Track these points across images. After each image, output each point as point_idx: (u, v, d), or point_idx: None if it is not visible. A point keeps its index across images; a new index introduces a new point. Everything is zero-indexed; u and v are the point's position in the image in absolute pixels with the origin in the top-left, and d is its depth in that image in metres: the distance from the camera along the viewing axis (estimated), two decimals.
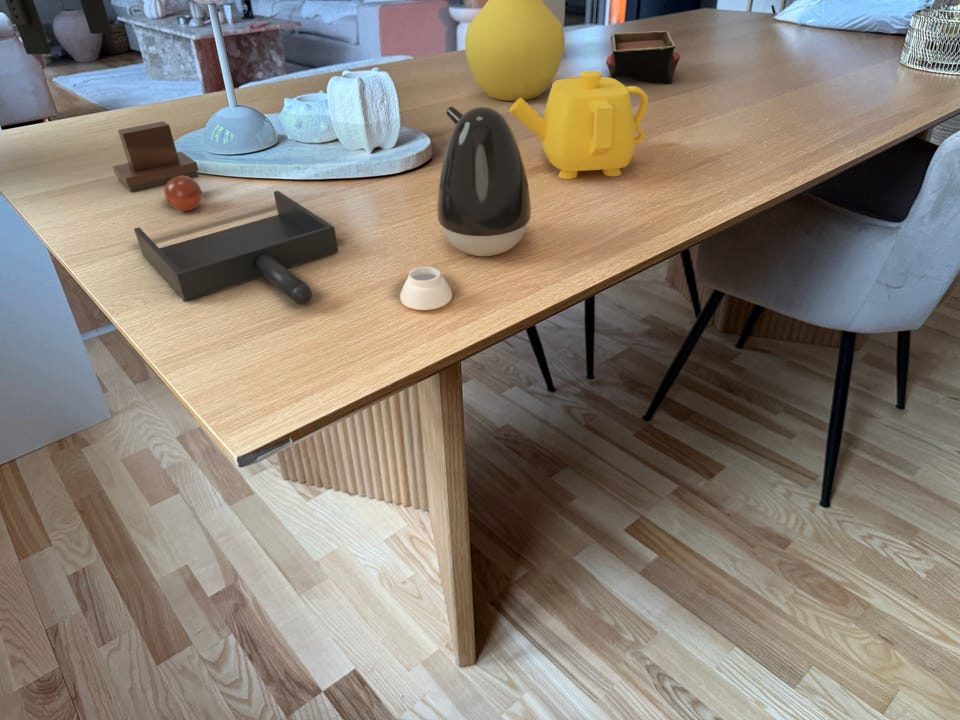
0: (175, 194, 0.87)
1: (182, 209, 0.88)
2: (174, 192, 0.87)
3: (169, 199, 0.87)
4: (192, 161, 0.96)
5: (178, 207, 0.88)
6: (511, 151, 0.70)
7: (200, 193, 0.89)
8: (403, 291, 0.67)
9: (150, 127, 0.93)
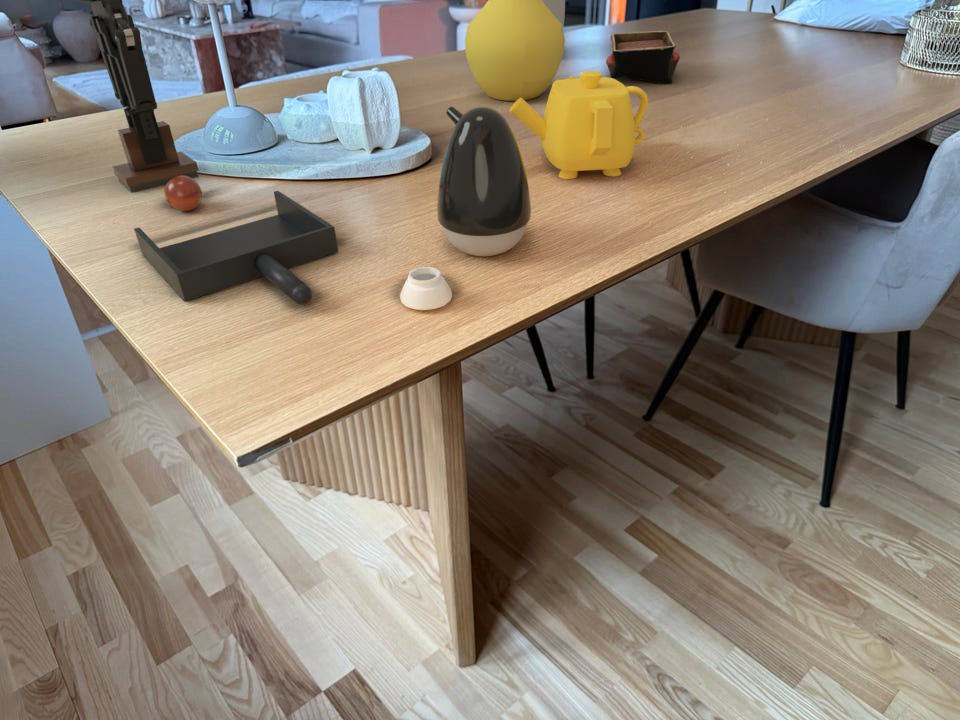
0: (175, 194, 0.87)
1: (182, 209, 0.88)
2: (174, 192, 0.87)
3: (169, 199, 0.87)
4: (192, 161, 0.96)
5: (178, 207, 0.88)
6: (511, 151, 0.70)
7: (200, 193, 0.89)
8: (403, 291, 0.67)
9: None
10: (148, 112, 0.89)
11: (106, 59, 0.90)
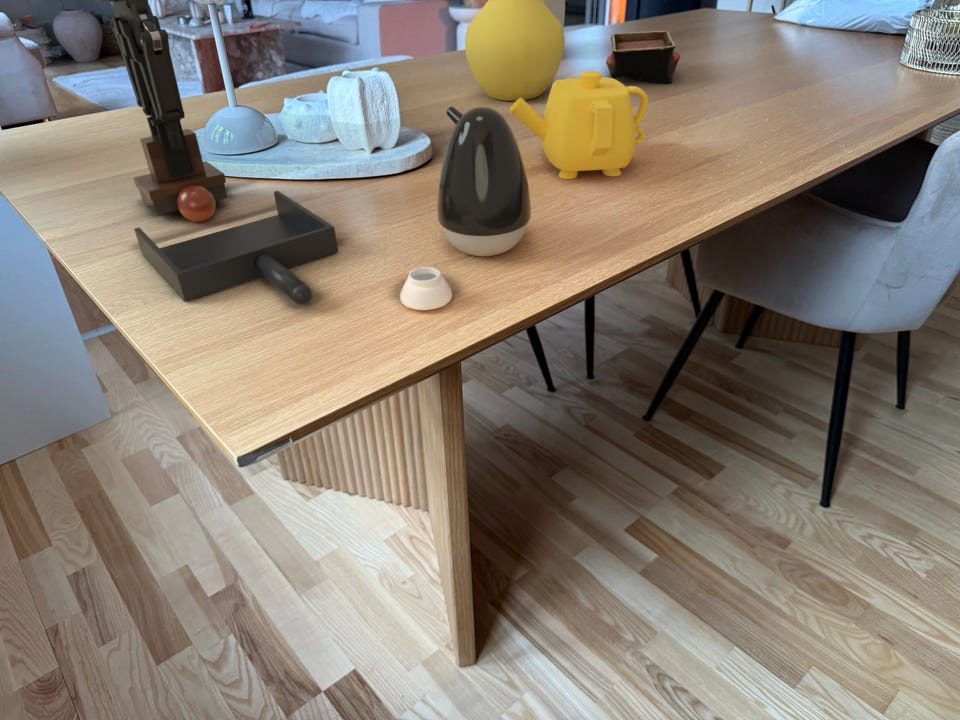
0: (188, 208, 0.84)
1: (194, 221, 0.86)
2: (188, 205, 0.84)
3: (182, 210, 0.85)
4: (219, 172, 0.89)
5: (191, 219, 0.85)
6: (511, 151, 0.70)
7: (214, 206, 0.86)
8: (403, 291, 0.67)
9: None
10: (174, 121, 0.82)
11: (128, 64, 0.83)
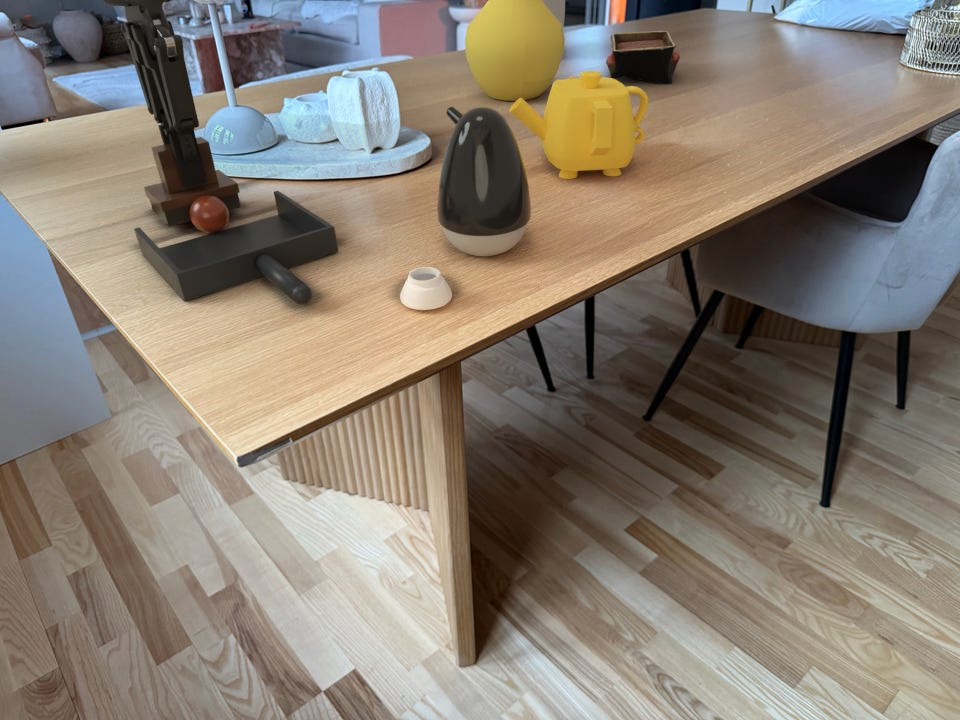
0: (202, 219, 0.81)
1: (207, 232, 0.83)
2: (201, 216, 0.81)
3: (195, 222, 0.82)
4: (233, 182, 0.86)
5: (203, 230, 0.82)
6: (511, 151, 0.70)
7: (228, 216, 0.83)
8: (403, 291, 0.67)
9: None
10: (188, 130, 0.79)
11: (139, 70, 0.80)
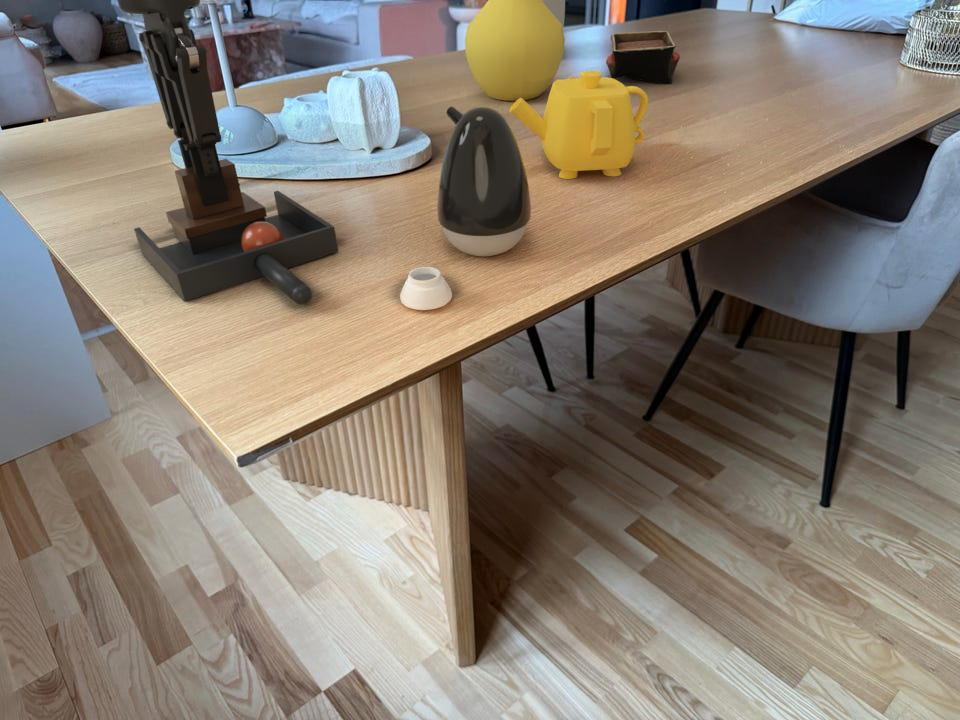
0: (243, 233, 0.74)
1: (256, 245, 0.73)
2: (243, 232, 0.74)
3: (242, 244, 0.74)
4: (259, 205, 0.81)
5: (251, 244, 0.73)
6: (511, 151, 0.70)
7: (273, 226, 0.75)
8: (403, 291, 0.67)
9: None
10: (210, 146, 0.74)
11: (158, 81, 0.75)
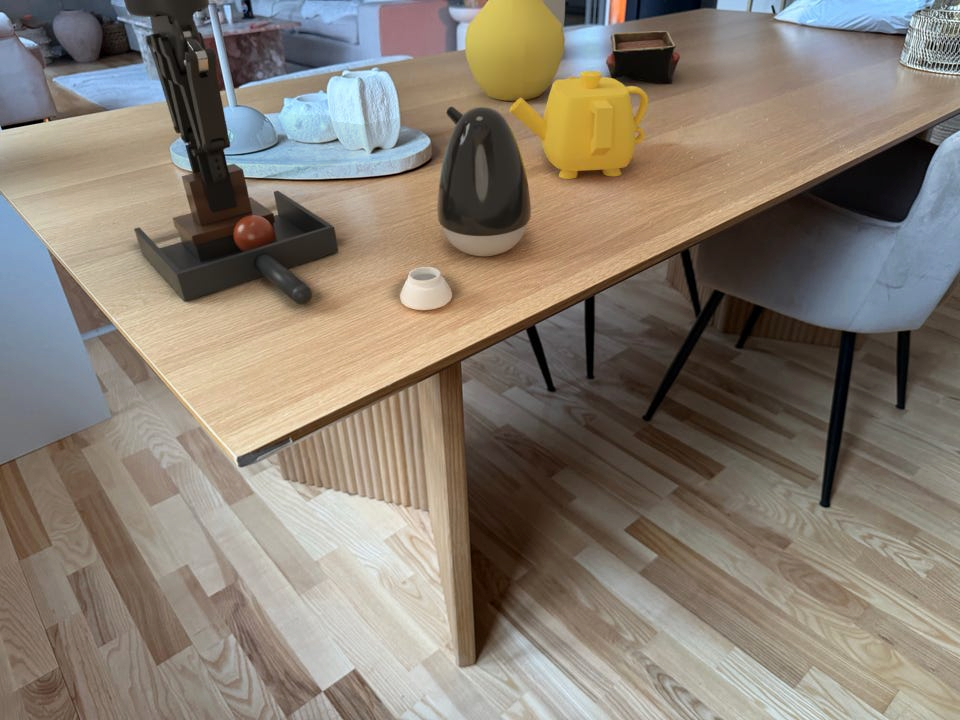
0: None
1: (241, 224, 0.75)
2: None
3: (234, 238, 0.76)
4: (268, 211, 0.80)
5: (237, 227, 0.75)
6: (511, 151, 0.70)
7: None
8: (403, 291, 0.67)
9: None
10: (218, 151, 0.72)
11: (165, 85, 0.74)
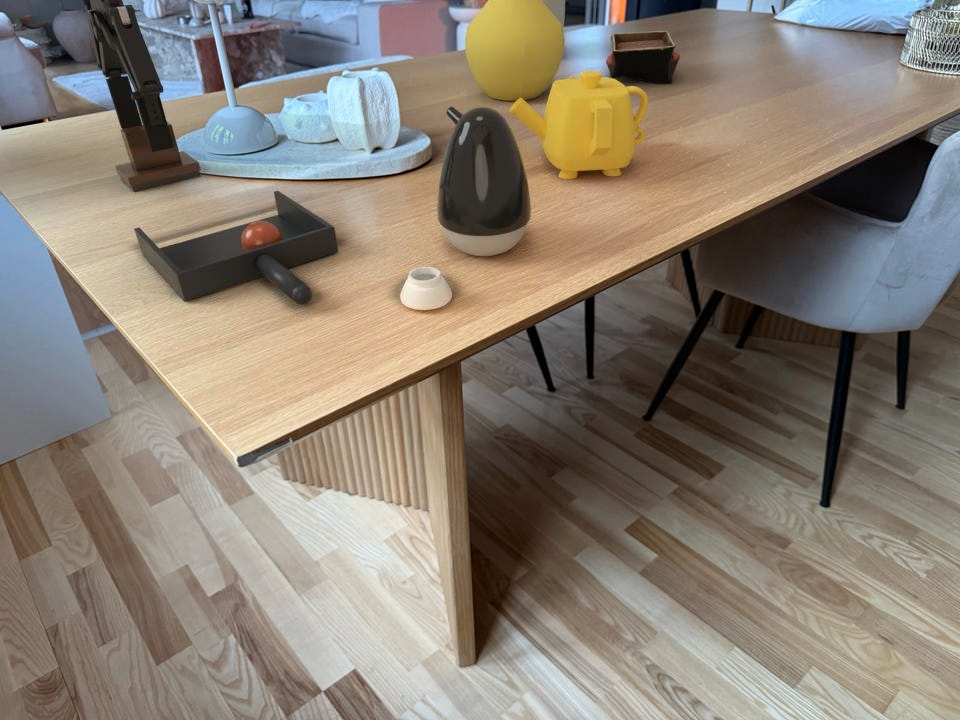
0: (243, 232, 0.74)
1: (256, 242, 0.73)
2: (243, 231, 0.75)
3: (242, 243, 0.74)
4: (194, 161, 0.96)
5: (251, 242, 0.73)
6: (511, 151, 0.70)
7: (273, 225, 0.75)
8: (403, 291, 0.67)
9: None
10: None
11: (95, 38, 0.91)
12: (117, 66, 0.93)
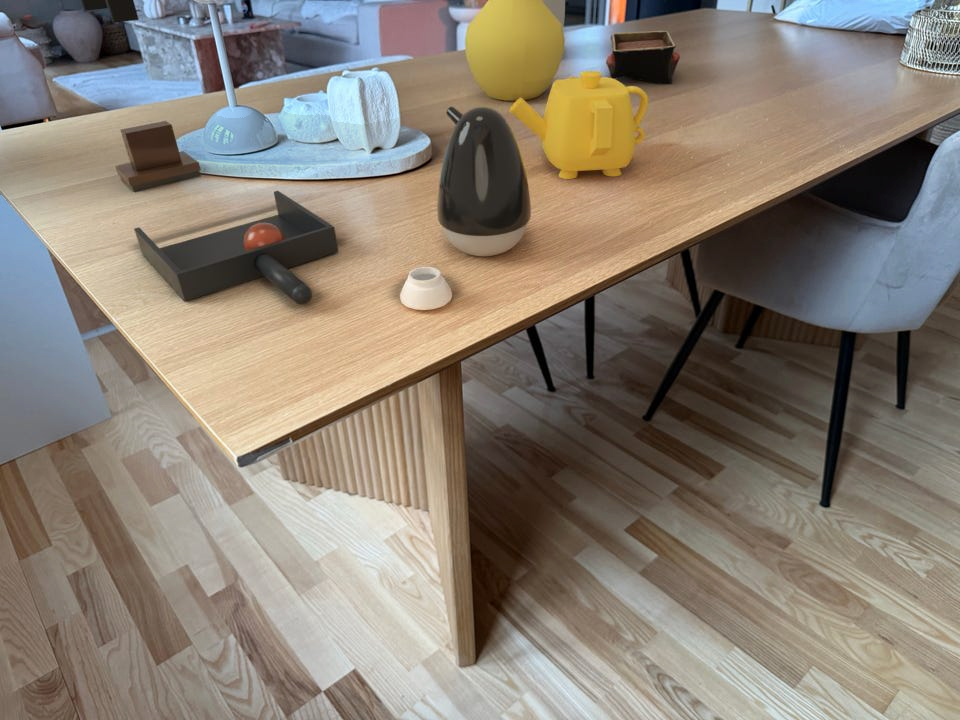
0: (247, 235, 0.74)
1: None
2: (246, 233, 0.74)
3: (245, 245, 0.74)
4: (194, 161, 0.96)
5: None
6: (511, 150, 0.70)
7: (278, 229, 0.74)
8: (403, 291, 0.67)
9: (152, 127, 0.93)
10: None
11: None
12: None
